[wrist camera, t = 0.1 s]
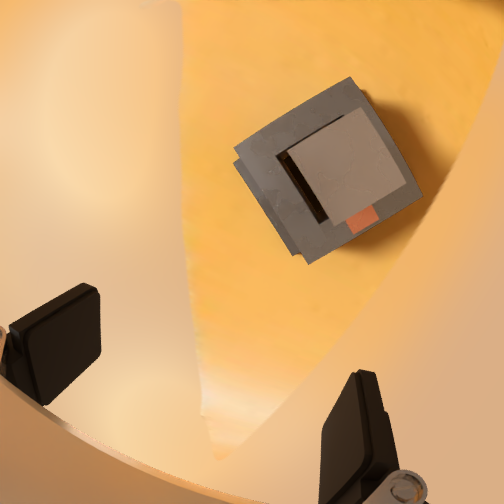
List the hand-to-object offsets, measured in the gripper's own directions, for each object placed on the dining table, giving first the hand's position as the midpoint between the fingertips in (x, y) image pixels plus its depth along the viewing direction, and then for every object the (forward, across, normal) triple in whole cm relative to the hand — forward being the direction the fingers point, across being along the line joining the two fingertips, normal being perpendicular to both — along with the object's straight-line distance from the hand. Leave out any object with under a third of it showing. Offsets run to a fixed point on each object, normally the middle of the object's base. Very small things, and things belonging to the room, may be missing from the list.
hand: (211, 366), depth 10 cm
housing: (+31, -4, -8) cm, 32 cm away
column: (+31, -4, -8) cm, 32 cm away
